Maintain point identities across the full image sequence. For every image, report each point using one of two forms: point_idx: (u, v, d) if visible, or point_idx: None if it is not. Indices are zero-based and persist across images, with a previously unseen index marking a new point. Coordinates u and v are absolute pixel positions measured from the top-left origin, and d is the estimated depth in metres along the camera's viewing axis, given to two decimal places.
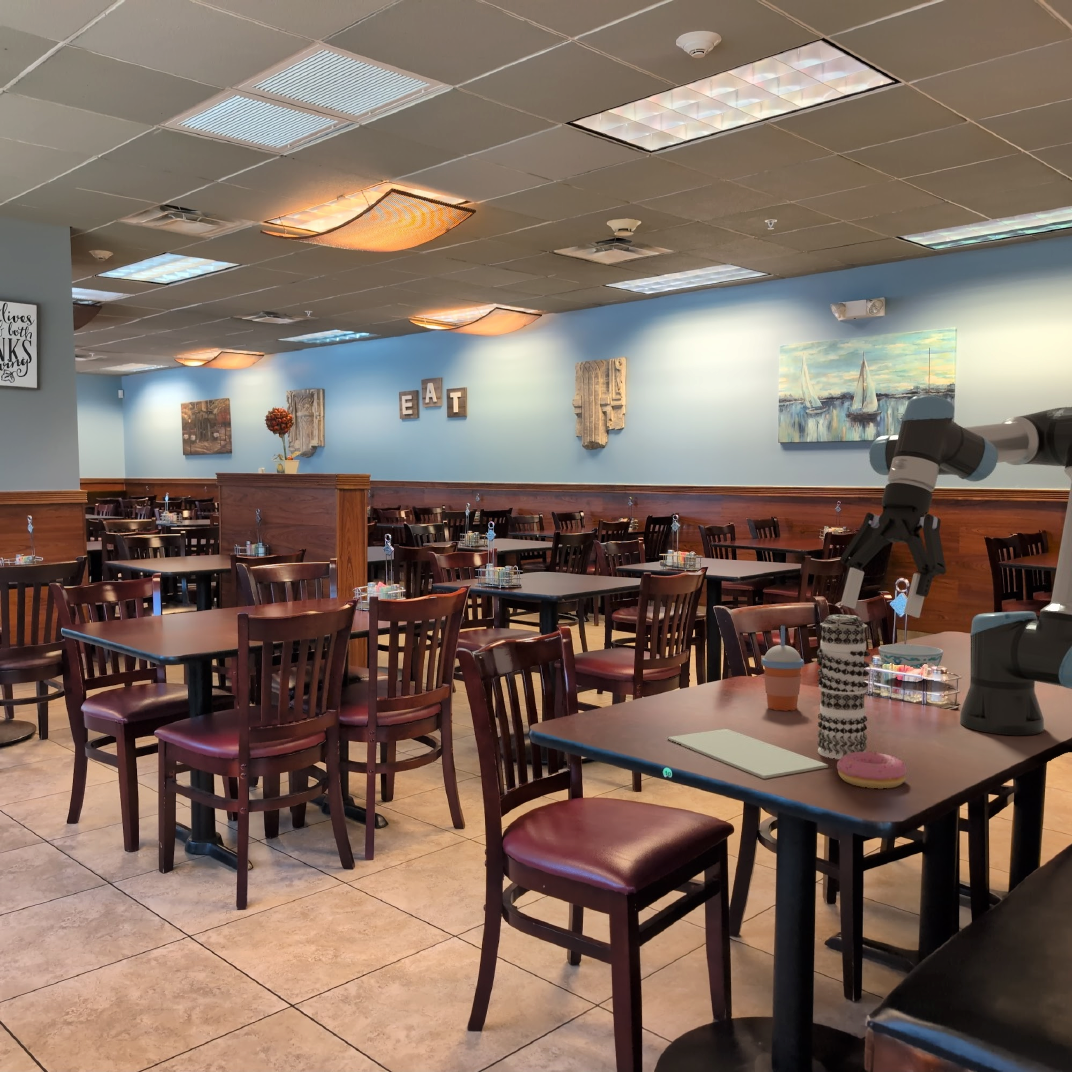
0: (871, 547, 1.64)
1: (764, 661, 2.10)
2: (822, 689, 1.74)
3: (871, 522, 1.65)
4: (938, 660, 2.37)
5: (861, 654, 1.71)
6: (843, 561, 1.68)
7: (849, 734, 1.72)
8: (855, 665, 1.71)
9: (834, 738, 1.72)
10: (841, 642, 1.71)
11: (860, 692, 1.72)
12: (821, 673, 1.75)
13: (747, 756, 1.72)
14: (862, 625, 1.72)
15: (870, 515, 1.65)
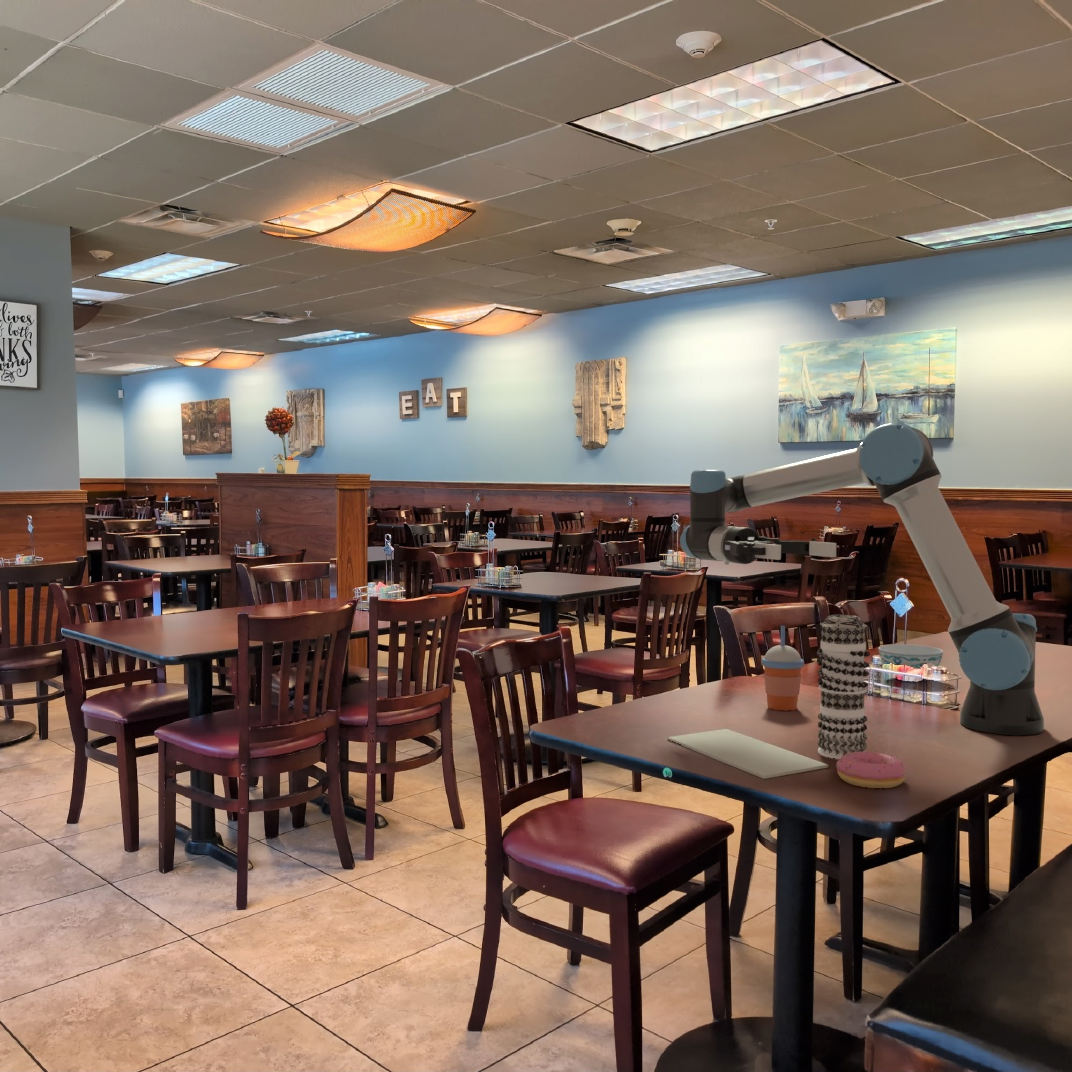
0: (787, 551, 1.94)
1: (764, 661, 2.10)
2: (822, 689, 1.74)
3: None
4: (938, 660, 2.37)
5: (861, 654, 1.71)
6: None
7: (849, 734, 1.72)
8: (855, 665, 1.71)
9: (834, 738, 1.72)
10: (841, 642, 1.71)
11: (860, 692, 1.72)
12: (821, 673, 1.75)
13: (747, 756, 1.72)
14: (862, 625, 1.72)
15: None
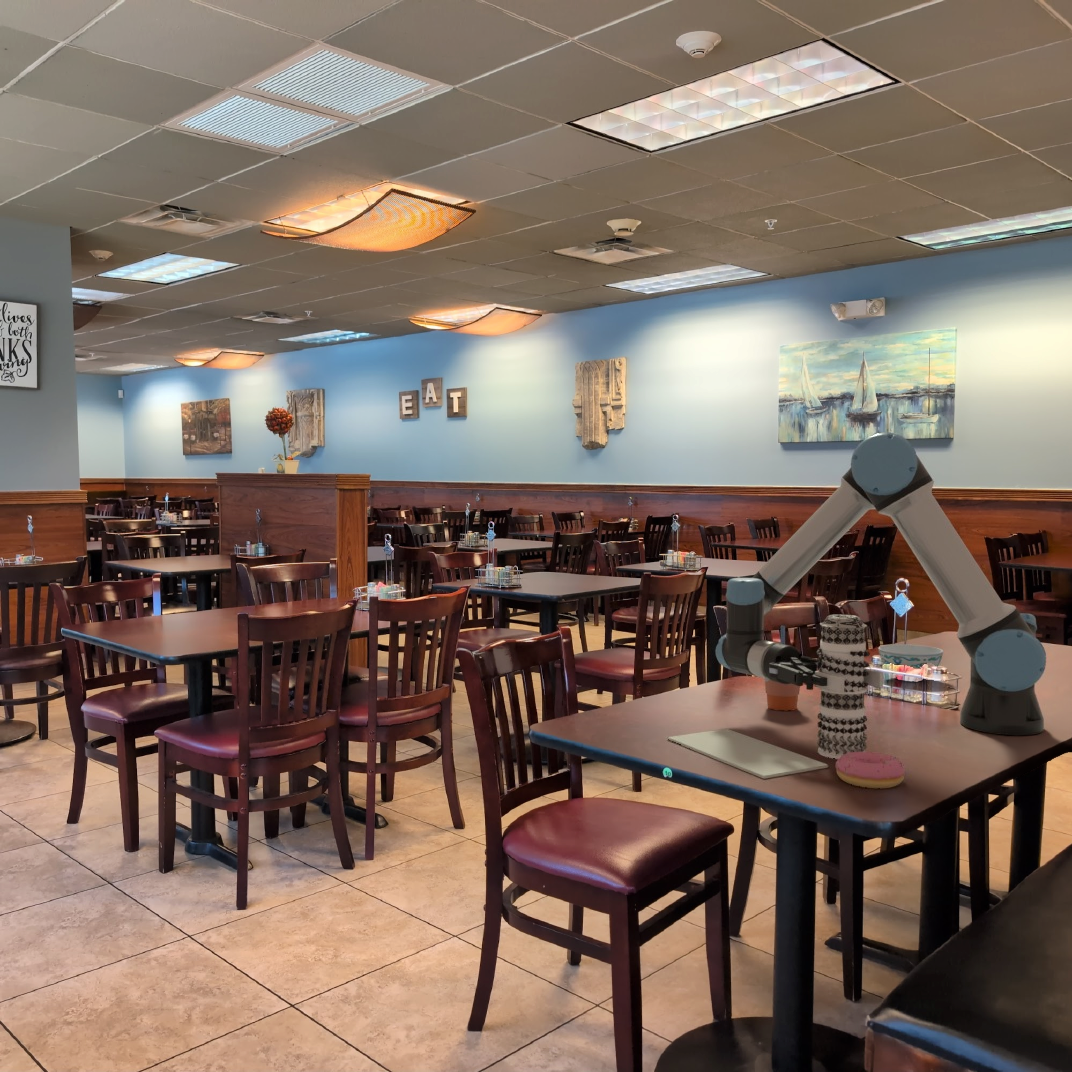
0: None
1: None
2: (822, 689, 1.74)
3: None
4: (938, 660, 2.37)
5: (861, 654, 1.71)
6: None
7: (849, 734, 1.72)
8: (855, 665, 1.71)
9: (834, 738, 1.72)
10: (841, 642, 1.71)
11: (860, 692, 1.72)
12: None
13: (747, 756, 1.72)
14: (862, 625, 1.72)
15: None
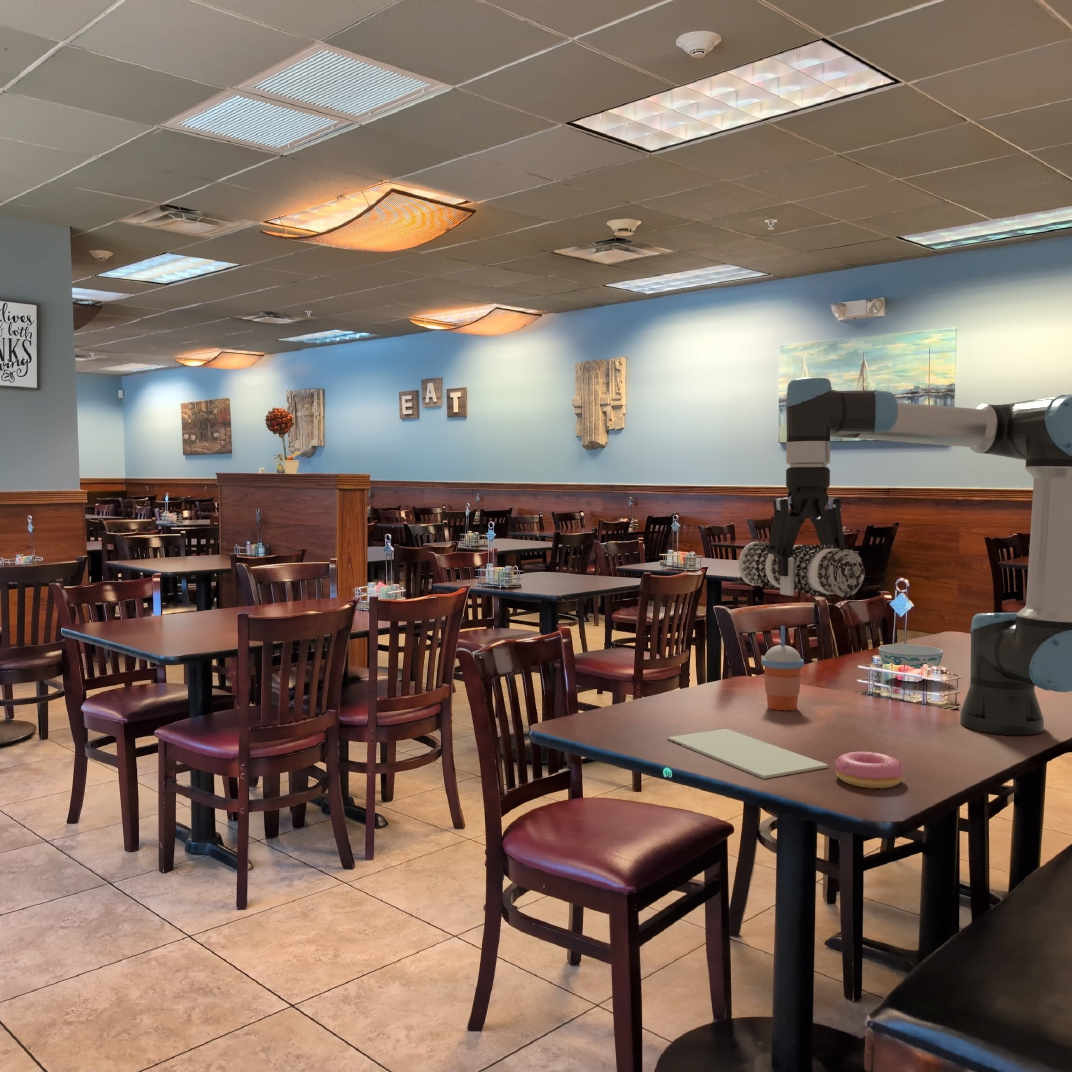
0: (817, 530, 1.75)
1: (764, 661, 2.10)
2: None
3: (825, 505, 1.76)
4: (938, 660, 2.37)
5: (826, 596, 1.69)
6: None
7: None
8: (813, 594, 1.70)
9: (753, 575, 1.81)
10: (823, 586, 1.66)
11: None
12: None
13: (747, 756, 1.72)
14: (852, 592, 1.65)
15: None
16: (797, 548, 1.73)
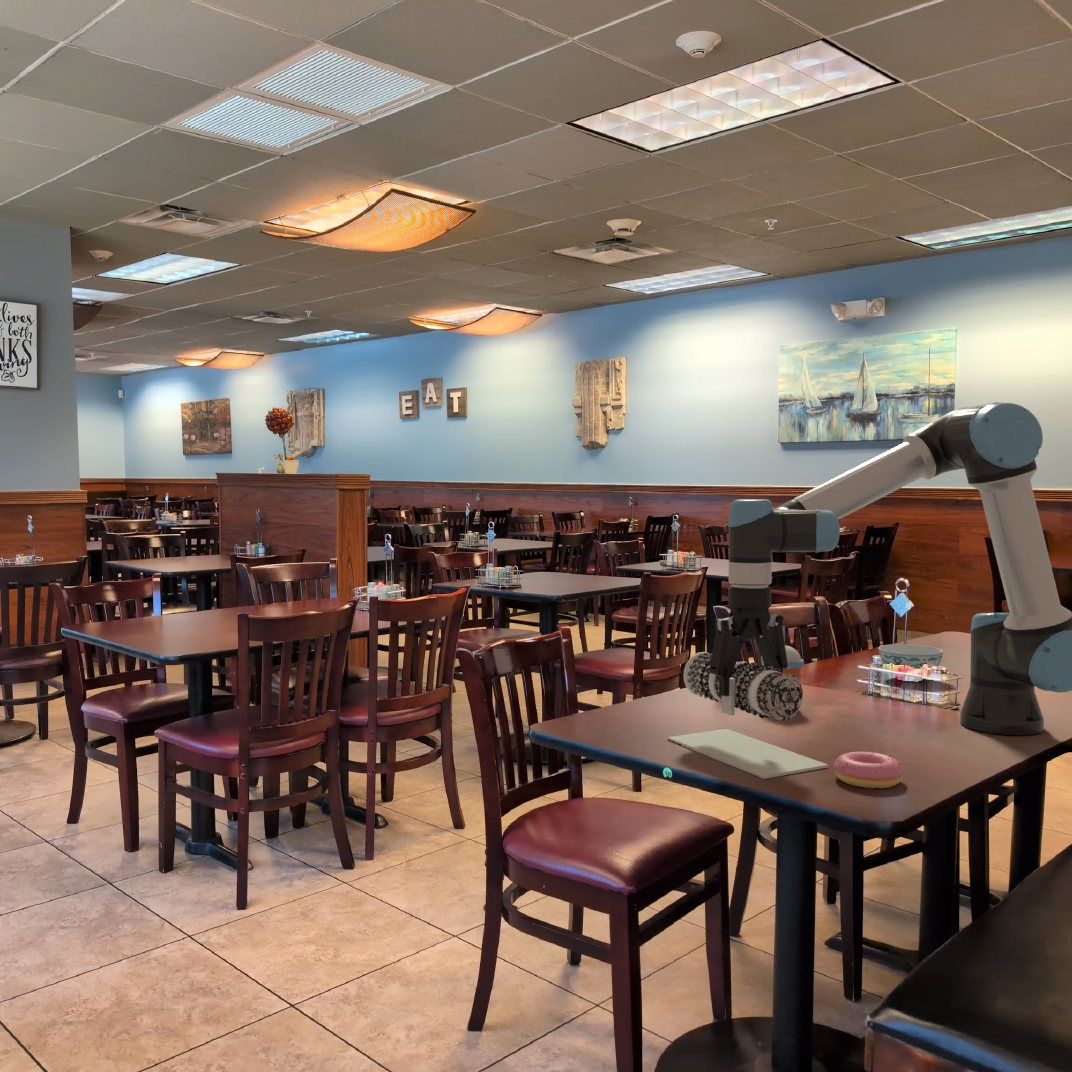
0: (759, 647, 1.76)
1: None
2: None
3: None
4: (938, 660, 2.37)
5: (766, 717, 1.70)
6: None
7: None
8: (753, 714, 1.71)
9: (697, 688, 1.82)
10: (762, 709, 1.67)
11: None
12: None
13: (747, 756, 1.72)
14: (791, 715, 1.67)
15: None
16: (739, 666, 1.74)
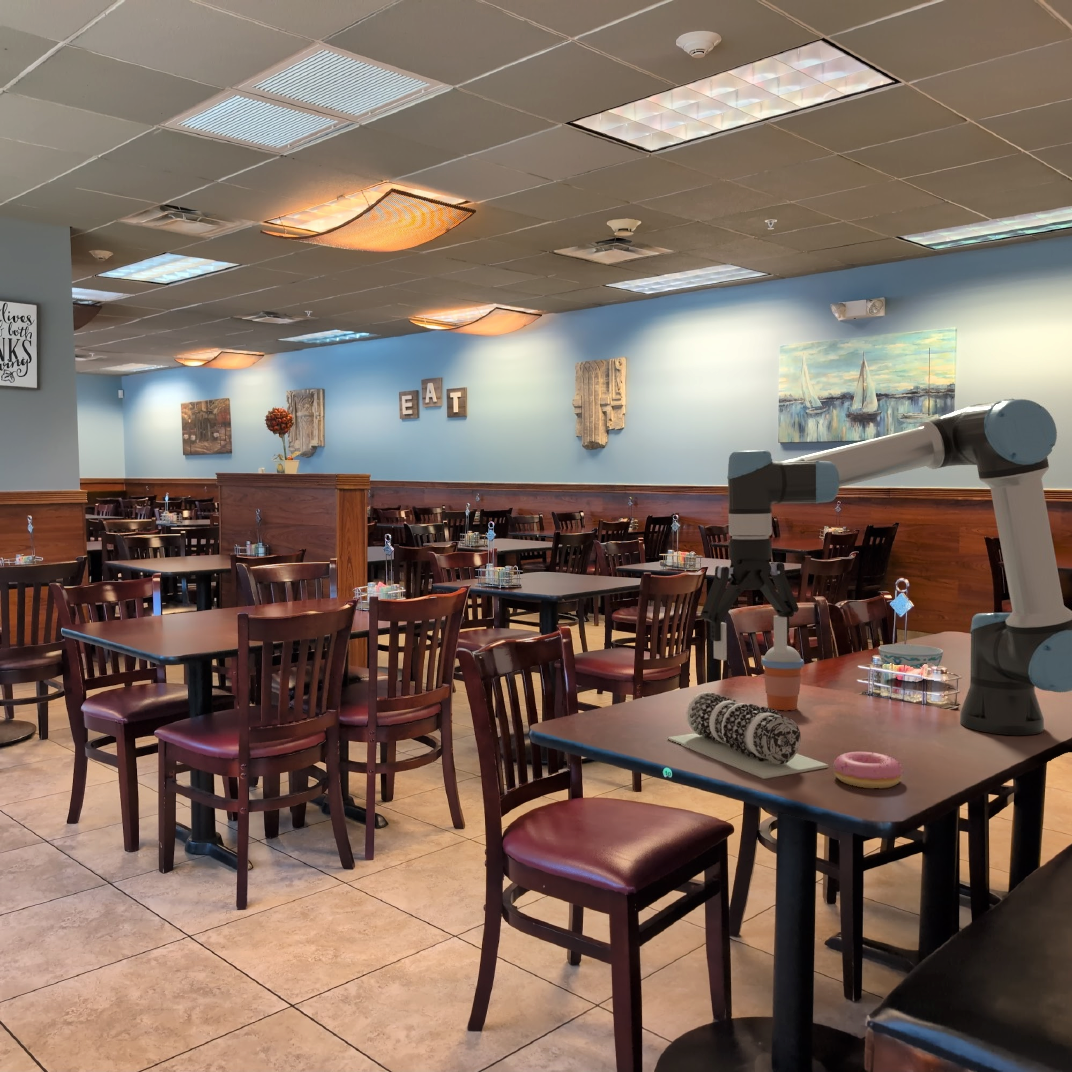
0: (766, 596, 1.76)
1: (764, 661, 2.10)
2: (722, 726, 1.74)
3: None
4: (938, 660, 2.37)
5: (766, 759, 1.70)
6: None
7: None
8: (754, 757, 1.71)
9: (700, 730, 1.82)
10: (760, 753, 1.67)
11: None
12: (732, 725, 1.72)
13: (747, 756, 1.72)
14: (789, 758, 1.66)
15: None
16: (736, 709, 1.74)
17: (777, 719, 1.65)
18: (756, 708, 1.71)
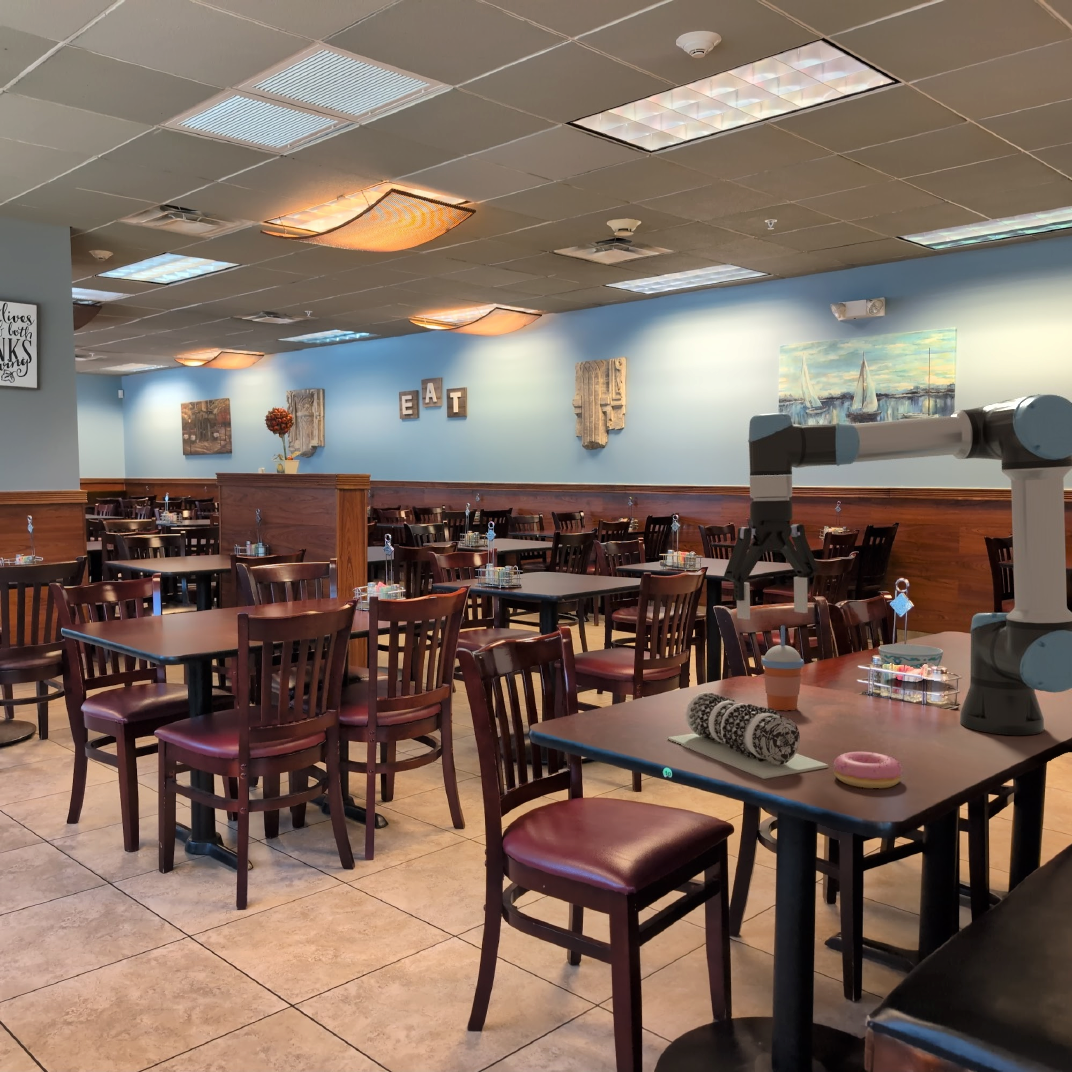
0: (786, 557, 1.80)
1: (764, 661, 2.10)
2: (721, 727, 1.74)
3: None
4: (938, 660, 2.37)
5: (766, 760, 1.70)
6: None
7: None
8: (754, 757, 1.71)
9: (699, 731, 1.82)
10: (759, 754, 1.67)
11: None
12: (731, 727, 1.72)
13: (747, 756, 1.72)
14: (789, 758, 1.66)
15: None
16: (735, 710, 1.73)
17: (775, 720, 1.65)
18: (754, 709, 1.70)
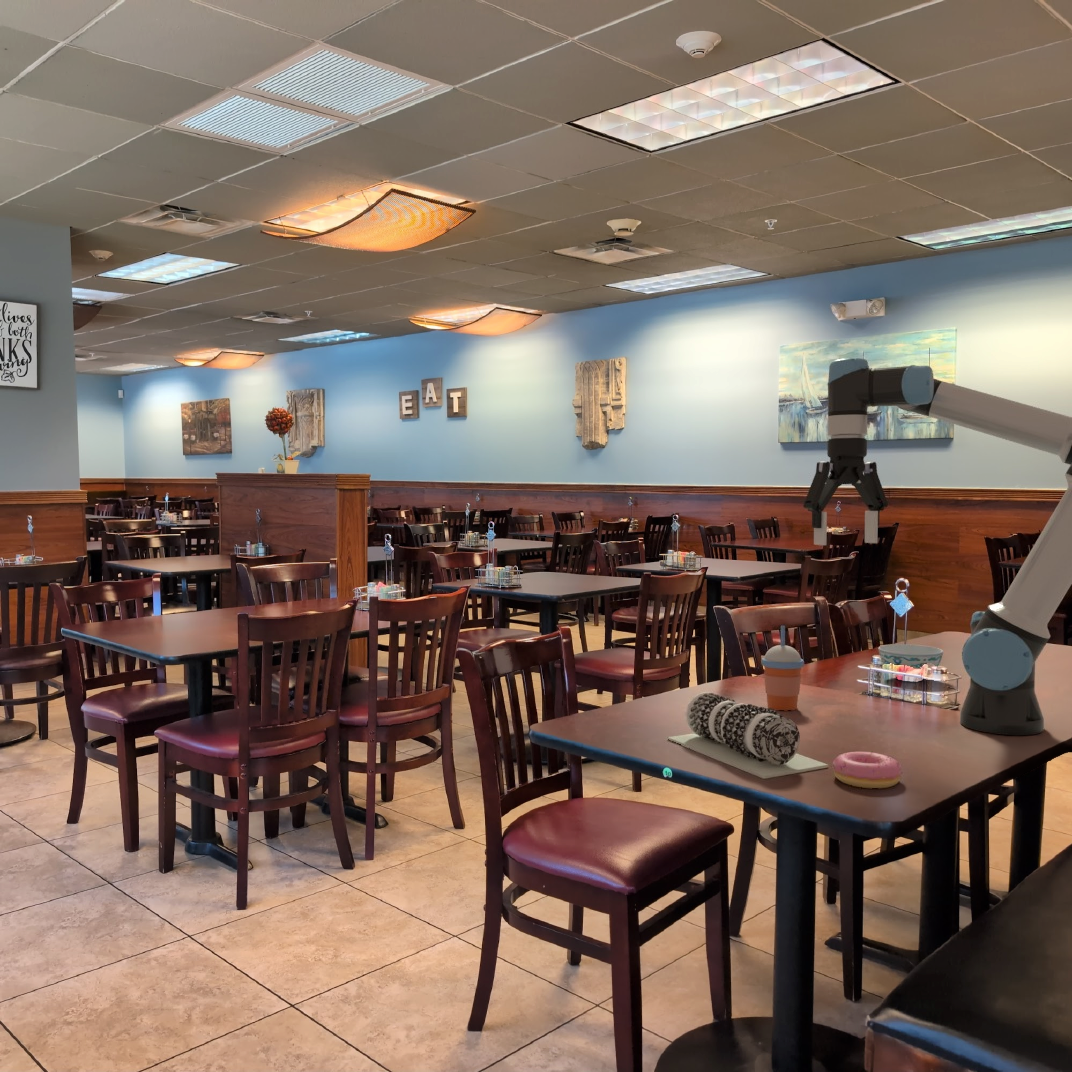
0: (859, 492, 1.97)
1: (764, 661, 2.10)
2: (721, 727, 1.74)
3: None
4: (938, 660, 2.37)
5: (766, 760, 1.70)
6: None
7: None
8: (754, 757, 1.71)
9: (699, 731, 1.82)
10: (759, 754, 1.67)
11: None
12: (731, 727, 1.72)
13: (747, 756, 1.72)
14: (789, 758, 1.66)
15: None
16: (735, 710, 1.73)
17: (775, 720, 1.65)
18: (754, 709, 1.70)
